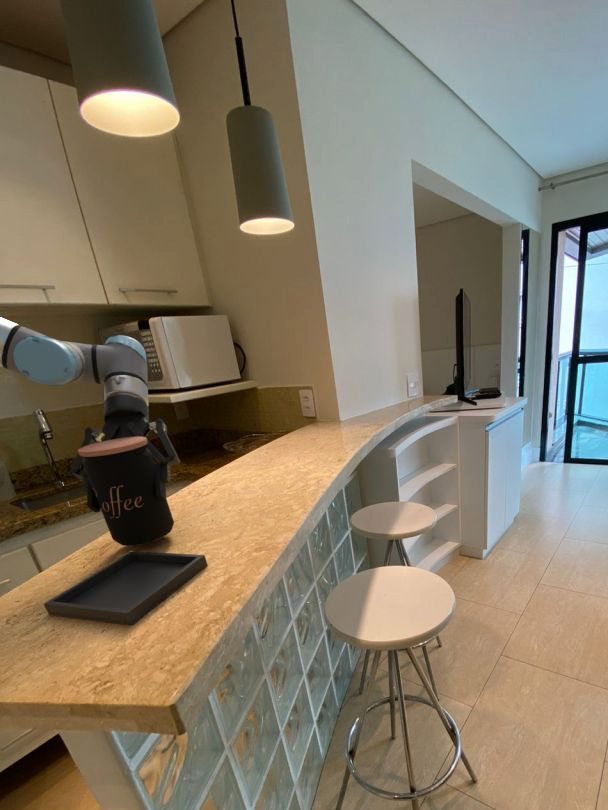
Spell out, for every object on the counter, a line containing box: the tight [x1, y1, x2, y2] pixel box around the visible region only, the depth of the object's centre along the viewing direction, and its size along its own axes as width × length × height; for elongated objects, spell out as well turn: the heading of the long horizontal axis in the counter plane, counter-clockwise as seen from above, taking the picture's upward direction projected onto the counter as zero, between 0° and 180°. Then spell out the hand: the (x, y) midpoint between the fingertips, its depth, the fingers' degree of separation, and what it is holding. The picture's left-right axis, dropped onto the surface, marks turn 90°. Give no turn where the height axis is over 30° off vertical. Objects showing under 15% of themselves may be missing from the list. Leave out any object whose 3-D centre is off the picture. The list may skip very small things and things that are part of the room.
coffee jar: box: [77, 436, 175, 547], centre depth 75 cm, size 11×11×18 cm
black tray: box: [43, 550, 208, 626], centre depth 63 cm, size 16×16×2 cm
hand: (127, 503), depth 73 cm, fingers closed on coffee jar, 10 cm apart
